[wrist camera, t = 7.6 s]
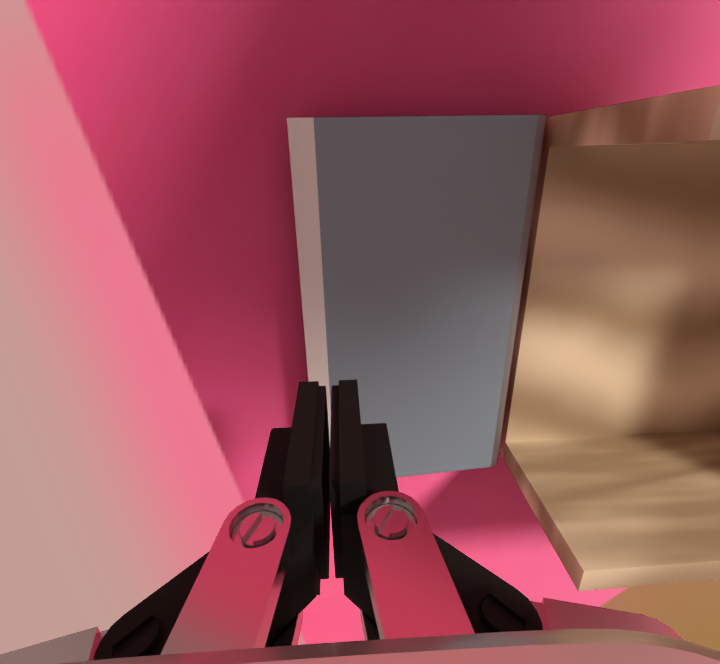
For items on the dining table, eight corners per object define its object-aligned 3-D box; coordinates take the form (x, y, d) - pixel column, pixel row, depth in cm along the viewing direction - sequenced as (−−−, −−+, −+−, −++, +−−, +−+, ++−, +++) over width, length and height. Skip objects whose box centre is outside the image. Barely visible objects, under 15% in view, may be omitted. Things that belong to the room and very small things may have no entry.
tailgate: (536, 117, 18) (287, 120, 16) (552, 114, 16) (286, 117, 15) (491, 452, 25) (316, 470, 24) (500, 465, 24) (316, 485, 22)
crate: (542, 117, 18) (723, 84, 10) (841, 112, 19) (1249, 76, 10) (496, 447, 25) (578, 591, 17) (714, 434, 26) (895, 566, 17)
